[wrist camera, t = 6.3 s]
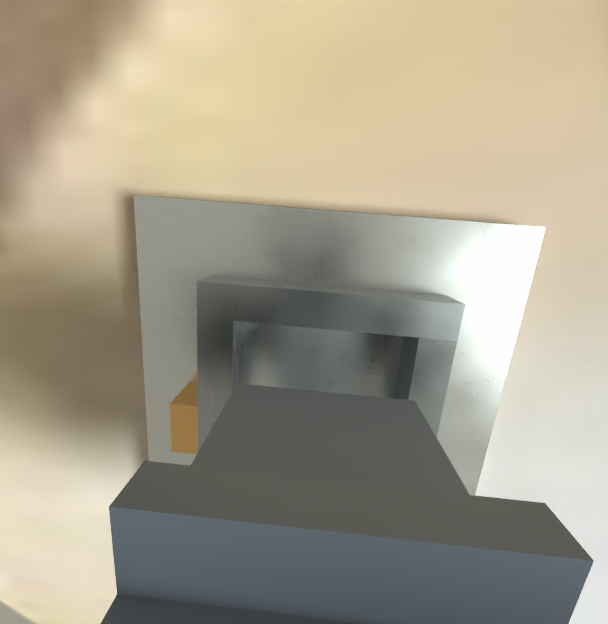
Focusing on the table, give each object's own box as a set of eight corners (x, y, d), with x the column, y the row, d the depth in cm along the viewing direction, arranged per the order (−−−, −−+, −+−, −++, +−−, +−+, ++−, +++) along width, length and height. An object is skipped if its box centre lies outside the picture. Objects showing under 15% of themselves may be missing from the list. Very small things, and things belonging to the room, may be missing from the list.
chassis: (442, 563, 15) (465, 626, 13) (164, 531, 15) (135, 586, 13) (525, 228, 11) (583, 225, 9) (149, 198, 11) (103, 188, 9)
